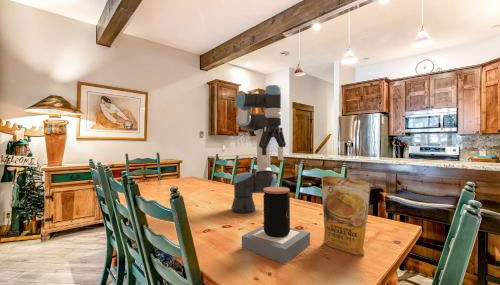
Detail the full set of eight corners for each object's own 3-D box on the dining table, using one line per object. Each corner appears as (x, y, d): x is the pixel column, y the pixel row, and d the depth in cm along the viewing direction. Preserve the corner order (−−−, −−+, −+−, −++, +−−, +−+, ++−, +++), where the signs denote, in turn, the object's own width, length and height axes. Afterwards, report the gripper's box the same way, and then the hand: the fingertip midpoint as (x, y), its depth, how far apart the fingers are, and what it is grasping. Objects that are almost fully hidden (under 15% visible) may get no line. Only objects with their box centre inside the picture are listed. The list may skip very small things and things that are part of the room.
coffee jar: (292, 238, 91) (291, 191, 91) (264, 238, 92) (263, 191, 92) (288, 228, 102) (287, 186, 102) (263, 228, 102) (262, 186, 102)
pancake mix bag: (325, 239, 104) (324, 174, 104) (372, 253, 90) (371, 179, 90) (317, 243, 99) (317, 176, 99) (365, 259, 85) (365, 181, 86)
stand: (241, 248, 95) (241, 235, 95) (269, 233, 110) (269, 222, 110) (285, 263, 82) (285, 248, 82) (310, 244, 98) (309, 231, 98)
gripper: (264, 115, 104) (264, 163, 105) (292, 118, 123) (292, 159, 124) (251, 116, 109) (251, 162, 109) (279, 119, 128) (279, 158, 129)
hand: (273, 160), depth 117 cm, fingers open, 13 cm apart
